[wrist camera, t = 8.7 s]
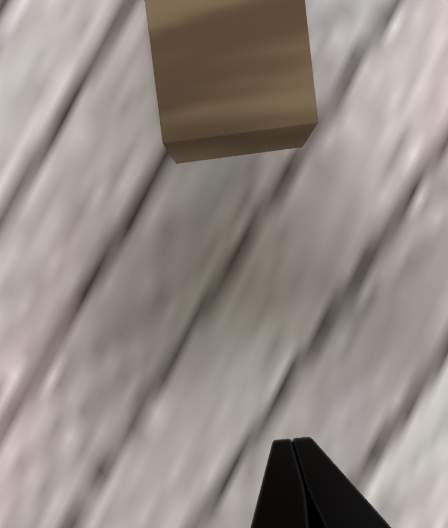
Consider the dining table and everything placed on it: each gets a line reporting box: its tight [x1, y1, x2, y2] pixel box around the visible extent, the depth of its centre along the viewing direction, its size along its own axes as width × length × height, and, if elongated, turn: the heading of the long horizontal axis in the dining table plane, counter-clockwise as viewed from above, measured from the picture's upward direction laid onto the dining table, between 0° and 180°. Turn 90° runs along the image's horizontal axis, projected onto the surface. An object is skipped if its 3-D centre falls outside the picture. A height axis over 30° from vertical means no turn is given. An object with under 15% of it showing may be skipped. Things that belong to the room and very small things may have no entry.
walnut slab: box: [145, 0, 318, 164], centre depth 16 cm, size 4×7×12 cm
